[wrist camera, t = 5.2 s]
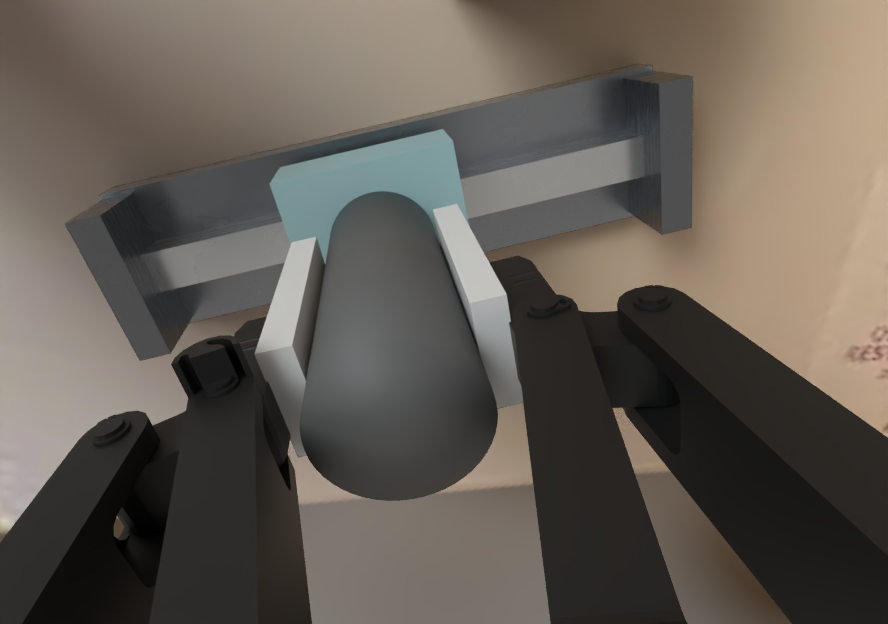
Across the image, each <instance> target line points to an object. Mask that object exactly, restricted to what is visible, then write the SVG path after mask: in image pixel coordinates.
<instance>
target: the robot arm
mask: <svg viewBox="0 0 888 624" xmlns="http://www.w3.org/2000/svg"><path fill="white" fill-rule="evenodd" d="M433 213H434V218H435V223H436V227H437V232H438V237H439V242H440V246H441V249H442V252H443V255H444V257H445V260H446V263H447V266H448V268H449V271H450V274H451V277H452V279H453V282H454V285H455V288H456V290H457V293H458V296H459V299H460V301H461V304H462V307H463V310H464V313H465V315H466V318H467V321H468V324H469V326H470V329H471V332H472V335H473V337H474V340H475V343H476V346H477V348H478V351H479V354H480V357H481V359H482V362H483V365H484V368H485V370H486V373H487V376H488V379H489V381H490V384H491V387H492V390H493V392H494V396H495V399H496V403H497V409H499V408H503V407H507V406H511V405H515V404H519V403H524V411H525V419H526V428H527V436H528V444H529V452H530V460H531V468H532V476H533V484H534V492H535V500H536V508H537V516H538V524H539V532H540V540H541V548H542V557H543V565H544V573H545V581H546V589H547V596H548V604H549V613H550V621H551V624H687V622H686V620H685V618H684V615H683V612H682V610H681V607H680V604H679V601H678V598H677V596H676V593H675V590H674V587H673V584H672V581H671V578H670V575H669V572H668V570H667V566H666V564H665V561H664V558H663V555H662V552H661V549H660V546H659V543H658V540H657V537H656V534H655V531H654V529H653V526H652V523H651V520H650V517H649V514H648V511H647V509H646V505H645V502H644V499H643V497H642V494H641V491H640V488H639V485H638V482H637V479H636V476H635V473H634V470H633V467H632V464H631V462H630V459H629V456H628V453H627V450H626V447H625V444H624V441H623V438H622V435H621V432H620V430H619V427H618V424H617V421H616V418H615V415H614V412H613V409H612V408H620V407H623V409H624V411H625V414H626V416H627V417H628V418H629V419H630V421H631V422H632V423H633V424H634V426H635V427H636V428H637V430H638V431H639V432H640V433H641V435H642V436H643V437H644V438H645V440H646V441H647V442H648V443H649V445H650V446H651V447H652V448H653V450H654V451H655V452H656V453H657V455H658V456H659V457H660V458H661V460H662V461H663V462H664V463H665V465H666V466H667V467H668V468H669V470H670V471H671V472H672V473H673V475H674V476H675V477H676V478H677V480H678V481H679V482H680V483H681V485H682V486H683V487H684V489H685V490H686V491H687V492H688V493H689V495H690V496H691V497H692V499H693V500H694V501H695V502H696V504H697V505H698V506H699V507H700V509H701V510H702V511H703V512H704V514H705V515H706V516H707V517H708V518H709V520H710V521H711V522H712V524H713V525H714V526H715V527H716V529H717V530H718V531H719V532H720V534H721V535H722V536H723V537H724V539H725V540H726V541H727V542H728V544H729V545H730V546H731V547H732V549H733V550H734V551H735V553H736V554H737V555H738V556H739V557H740V559H741V560H742V561H743V562H744V564H745V565H746V566H747V568H748V569H749V570H750V571H751V573H752V574H753V575H754V576H755V578H756V579H757V580H758V581H759V583H760V584H761V585H762V586H763V588H764V589H765V590H766V591H767V593H768V594H769V595H770V596H771V598H772V599H773V600H774V601H775V603H776V604H777V605H778V606H779V608H780V609H781V610H782V611H783V613H784V614H785V615H786V616H787V618H788V619H789V620H790V622H791V623H792V624H888V438H887V437H886V436H885V435H883V434H882V433H880V432H879V431H878V430H876V429H875V428H873V427H872V426H871V425H869V424H868V423H866V422H865V421H863V420H862V419H861V418H859V417H858V416H856V415H855V414H854V413H852V412H851V411H849V410H848V409H847V408H845V407H844V406H842V405H841V404H840V403H838V402H837V401H835V400H834V399H832V398H831V397H830V396H828V395H827V394H825V393H824V392H823V391H821V390H820V389H818V388H817V387H816V386H814V385H813V384H811V383H810V382H809V381H807V380H806V379H804V378H803V377H801V376H800V375H799V374H797V373H796V372H794V371H793V370H792V369H790V368H789V367H787V366H786V365H785V364H783V363H782V362H780V361H779V360H778V359H776V358H775V357H773V356H772V355H770V354H769V353H768V352H766V351H765V350H763V349H762V348H761V347H759V346H758V345H756V344H755V343H754V342H752V341H751V340H749V339H748V338H747V337H745V336H744V335H742V334H741V333H739V332H738V331H737V330H735V329H734V328H732V327H731V326H730V325H728V324H727V323H725V322H724V321H723V320H721V319H720V318H718V317H717V316H716V315H714V314H713V313H711V312H710V311H708V310H707V309H706V308H704V307H703V306H701V305H700V304H699V303H697V302H696V301H694V300H693V299H692V298H690V297H689V296H687V295H686V294H685V293H683V292H681V291H679V290H676V289H674V288H669V287H664V286H660V285H655V286H653V285H649V286H644V287H640V288H635V289H633V290H630V291H628V292H625V293H624V294H623V295H622V296H621V297H619V300H618V303H617V308H618V311H612V312H583V311H579V310H578V307H577V304H576V303H575V302H574V301H573V300H572V299H570V298H568V297H566V296H563V295H556V294H555V293H554V291H553V290H552V288H551V287H550V286H549V284H548V283H547V282H546V280H545V279H544V278H543V277H542V275H541V273H540V272H539V271H538V270H537V268H536V267H535V265H534V264H533V263H532V261H530V260H527V259H525V258H523V257H520V256H515V257H511V258H507V259H502V260H498V261H494V262H490V263H489V261H488V260H487V258H486V256H485V254H484V252H483V250H482V249H481V247H480V245H479V243H478V241H477V239H476V238H475V236H474V234H473V232H472V230H471V229H470V227H469V225H468V223H467V221H466V219H465V218H464V216H463V214H462V212H461V210H460V208H459V207H458V205H457V204H454V205H450V206H446V207H441V208H437V209H433ZM324 270H325V262H324V259H323V256H322V253H321V250H320V247H319V244H318V240H317V237H312V238H308V239H304V240H300V241H295V242H292V243H291V246H290V249H289V252H288V255H287V258H286V261H285V264H284V267H283V270H282V273H281V276H280V279H279V282H278V285H277V288H276V291H275V294H274V297H273V300H272V303H271V306H270V309H269V312H268V315H267V317H263V318H259V319H255V320H250V321H247V322H246V323H245V324H244V325H243V326H242V327H241V328H240V329H239V330H238V331H237V332H236V333H235V335H234V337H233V336H217V337H213V338H208V339H206V340H203V341H200V342H198V343H195V344H194V345H192V346H190V347H188V348H187V349H185V350H183V351H182V352H181V353H180V354H179V355H178V356H176V357H175V359H174V360H173V362H172V364H171V365H172V367H173V369H174V371H175V373H176V375H177V377H178V379H179V381H180V383H181V384H182V386H183V388H184V390H185V392H186V394H187V396H188V403H187V409H186V411H185V412H183V413H181V414H179V415H177V416H174V417H172V418H170V419H167V420H165V421H163V422H160V423H158V424H155V425H153V426H152V424H151V422H150V420H149V418H148V417H147V415H146V413H143V412H140V411H131V412H125V413H122V414H118V415H113V416H110V417H108V419H104V420H102V421H100V422H99V423H98V424H97V425H96V426H94V427H93V428H92V429H90V430H89V431H87V432H86V433H85V434H84V435H83V436H82V437H81V438H80V439H79V441H78V442H77V443H76V444H75V446H74V447H73V448H72V450H71V451H70V452H69V454H68V455H67V456H66V458H65V459H64V460H63V461H62V463H61V464H60V465H59V467H58V468H57V469H56V471H55V472H54V473H53V475H52V476H51V477H50V478H49V480H48V481H47V482H46V484H45V485H44V486H43V488H42V489H41V490H40V492H39V493H38V494H37V495H36V497H35V498H34V499H33V501H32V502H31V503H30V505H29V506H28V507H27V509H26V510H25V511H24V512H23V514H22V515H21V516H20V518H19V519H18V520H17V522H16V523H15V524H14V526H13V527H12V528H11V529H10V531H9V532H8V533H7V535H6V536H5V537H4V539H3V540H2V541H1V543H0V624H312V620H311V612H310V603H309V594H308V585H307V576H306V567H305V559H304V550H303V540H302V532H301V524H300V514H299V505H298V496H297V487H296V478H295V470H294V468H293V465H292V463H291V461H290V459H289V456H288V454H287V453H288V447H289V441H290V440H291V442H292V444H293V447H294V449H295V451H296V454H297V456H298V457H302V456H306V455H307V454H306V453H305V451H304V448H303V444H302V441H301V436H300V415H301V409H302V403H303V397H304V391H305V385H306V379H307V373H308V367H309V361H310V355H311V348H312V342H313V336H314V330H315V324H316V318H317V312H318V306H319V300H320V294H321V288H322V282H323V276H324ZM521 387H522V388H521ZM117 516H118V518H119V519H120V521H121V522H122V524H123V525H124V527H125V528H124V530H123V532H122V533H121V535H120V537H119V538H118V539H117V538H116V537H114V533H113V532H114V531H113V526H114V523H115V520H116V517H117Z"/></svg>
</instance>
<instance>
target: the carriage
mask: <svg viewBox="0 0 888 624" xmlns="http://www.w3.org/2000/svg"><path fill="white" fill-rule="evenodd" d="M270 187H271V190H272V193H273V196H274V199H275V201H276V204H277V207H278V210H279V213H280V216H281V218H282V221H283V224H284V227H285V230H286V232H287V235H288V238H289V241H290V244H291V243H292V242H295V241H300V240H304V239H308V238H312V237H317V240H318V244H319V247H320V250H321V253H322V256H323V259H324V262H325V270H324V276H323V282H322V288H321V294H320V300H319V306H318V312H317V318H316V324H315V330H314V336H313V342H312V348H311V355H310V361H309V367H308V373H307V379H306V385H305V391H304V397H303V403H302V409H301V415H300V436H301V441H302V444H303V448H304V451H305V453H306V454H307V456H308V458H309V460H310V462H311V463H312V464H313V466H314V467H315V468H316V470H317V471H318V472H319V473H320V474H321V475H322V476H323V477H325V478H326V479H327V480H329V481H330V482H331V483H332V484H334V485H336V486H338V487H339V488H341V489H343V490H345V491H347V492H350V493H352V494H355V495H358V496H361V497H365V498H370V499H376V500H387V501H389V500H390V501H392V500H408V499H414V498H419V497H424V496H427V495H430V494H434V493H436V492H439V491H441V490H443V489H446V488H447V487H449V486H451V485H453V484H455V483H456V482H458V481H459V480H461V479H462V478H464V477H465V476H466V475H467V474H468V473H470V472H471V471H472V470H473V469H474V468H475V467H476V466H477V465H478V464H479V463H480V461H481V460H482V459H483V457H484V456H485V454H486V453H487V451H488V449H489V447H490V446H491V444H492V441H493V438H494V436H495V432H496V427H497V419H498V411H497V403H496V399H495V396H494V392H493V390H492V387H491V384H490V381H489V379H488V376H487V373H486V370H485V368H484V365H483V362H482V359H481V357H480V354H479V351H478V348H477V346H476V343H475V340H474V337H473V335H472V332H471V329H470V326H469V324H468V321H467V318H466V315H465V313H464V310H463V307H462V304H461V301H460V299H459V296H458V293H457V290H456V288H455V285H454V282H453V279H452V277H451V274H450V271H449V268H448V266H447V263H446V260H445V257H444V255H443V252H442V249H441V246H440V242H439V237H438V232H437V227H436V223H435V218H434V213H433V209H437V208H441V207H446V206H450V205H454V204H457V205H458V207H459V208H460V210H461V212H462V214H463V216H464V218H465V219H466V221H467V223H468V217H467V212H466V207H465V202H464V196H463V191H462V186H461V181H460V175H459V170H458V165H457V160H456V154H455V149H454V144H453V140H452V139H451V138H450V137H449V136H448V134H447V133H446V132H445V131H444V130H443V129H441V130H437V131H433V132H428V133H424V134H420V135H415V136H411V137H407V138H403V139H398V140H394V141H390V142H386V143H381V144H377V145H373V146H369V147H364V148H360V149H356V150H352V151H347V152H343V153H339V154H335V155H330V156H326V157H322V158H318V159H313V160H309V161H305V162H301V163H296V164H292V165H288V166H284V167H280V168H279V170H278V171H277V173H276V174H275V176H274V178H273V179H272V181H271V182H270ZM468 225H469V223H468Z"/></svg>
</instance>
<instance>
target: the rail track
mask: <svg viewBox="0 0 888 624" xmlns="http://www.w3.org/2000/svg"><path fill="white" fill-rule="evenodd" d="M692 95H693V76H687V75H680V74H672V73H664V72H656V71H653V66H652V65H643V64H637V65H633V66H629V67H624V68H620V69H616V70H612V71H607V72H603V73H599V74H595V75H590V76H586V77H582V78H577V79H573V80H569V81H565V82H560V83H556V84H552V85H548V86H543V87H539V88H535V89H530V90H526V91H522V92H518V93H513V94H509V95H505V96H501V97H496V98H492V99H488V100H484V101H479V102H475V103H471V104H466V105H462V106H458V107H454V108H449V109H445V110H441V111H437V112H432V113H428V114H424V115H419V116H415V117H411V118H407V119H402V120H398V121H394V122H390V123H385V124H381V125H377V126H372V127H368V128H364V129H360V130H355V131H351V132H347V133H343V134H338V135H334V136H330V137H325V138H321V139H317V140H313V141H308V142H304V143H300V144H296V145H291V146H287V147H283V148H279V149H274V150H270V151H266V152H261V153H257V154H253V155H249V156H244V157H240V158H236V159H232V160H227V161H223V162H219V163H214V164H210V165H206V166H202V167H197V168H193V169H189V170H185V171H180V172H176V173H172V174H167V175H163V176H159V177H155V178H150V179H146V180H142V181H138V182H133V183H129V184H125V185H120V186H116V187H112V188H110V189H109V190H107V191H105V192H104V193H102V194H101V195H100V197H101V199H102V200H101V201H100V202H98V203H97V204H95V205H94V206H92V207H90V208H89V209H87V210H86V211H84V212H83V213H81V214H79V215H78V216H76V217H75V218H73V219H72V220H70V221H68V222H67V223H65V225H66V227H67V229H68V231H69V233H70V234H71V236H72V238H73V240H74V242H75V243H76V245H77V247H78V249H79V251H80V253H81V254H82V256H83V258H84V260H85V262H86V264H87V265H88V267H89V269H90V271H91V273H92V274H93V276H94V278H95V280H96V282H97V284H98V285H99V287H100V289H101V291H102V293H103V295H104V296H105V298H106V300H107V302H108V304H109V306H110V307H111V309H112V311H113V313H114V315H115V316H116V318H117V320H118V322H119V324H120V326H121V327H122V329H123V331H124V333H125V335H126V337H127V338H128V340H129V342H130V344H131V346H132V347H133V349H134V351H135V353H136V355H137V357H138V358H139V360H140V361H141V360H145V359H149V358H154V357H158V356H162V355H166V354H170V353H171V352H172V350H173V349H174V347H175V345H176V344H177V342H178V340H179V339H180V337H181V335H182V334H183V332H184V330H185V329H186V327H187V325H188V324H189V323H191V322H196V321H200V320H204V319H208V318H212V317H216V316H221V315H225V314H229V313H233V312H237V311H241V310H245V309H250V308H254V307H258V306H262V305H266V304H270V303H272V300H273V297H274V294H275V291H276V288H277V285H278V282H279V279H280V276H281V273H282V270H283V267H284V264H285V261H286V258H287V255H288V252H289V249H290V246H291V244H290V241H289V238H288V235H287V232H286V230H285V227H284V224H283V221H282V218H281V216H280V213H279V210H278V207H277V204H276V201H275V199H274V196H273V193H272V190H271V187H270V182H271V181H272V179H273V178H274V176H275V174H276V173H277V171H278V170H279V168H280V167H284V166H288V165H292V164H296V163H301V162H305V161H309V160H313V159H318V158H322V157H326V156H330V155H335V154H339V153H343V152H347V151H352V150H356V149H360V148H364V147H369V146H373V145H377V144H381V143H386V142H390V141H394V140H398V139H403V138H407V137H411V136H415V135H420V134H424V133H428V132H433V131H437V130H441V129H443V130H444V131H445V132H446V133H447V134H448V136H449V137H450V138H451V139H452V140H453V144H454V149H455V154H456V160H457V165H458V170H459V175H460V181H461V186H462V191H463V196H464V202H465V207H466V212H467V217H468V223H469V227H470V229H471V230H472V232H473V234H474V236H475V238H476V239H477V241H478V243H479V245H480V247H481V249H482V250H483V252H487V251H491V250H495V249H499V248H503V247H507V246H511V245H516V244H520V243H524V242H528V241H532V240H536V239H541V238H545V237H549V236H553V235H557V234H561V233H566V232H570V231H574V230H578V229H582V228H586V227H590V226H595V225H599V224H603V223H607V222H611V221H615V220H620V219H624V218H628V217H632V216H635V217H637V218H638V219H640V220H641V221H643V222H644V223H646V224H647V225H649V226H650V227H652V228H653V229H655V230H656V231H657V232H659V233H660V234H662V235H663V234H667V233H671V232H675V231H679V230H683V229H687V228H692Z"/></svg>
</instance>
